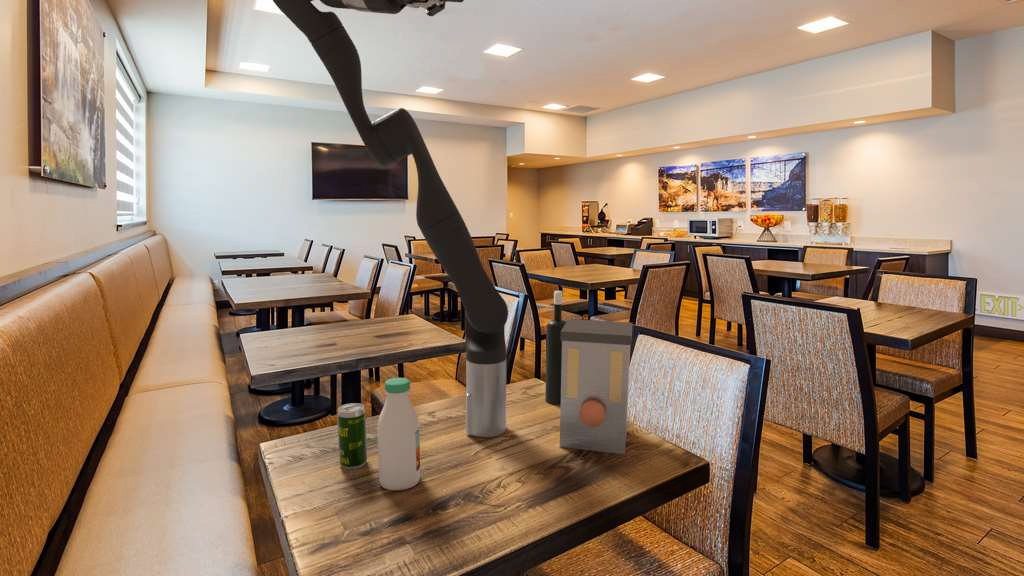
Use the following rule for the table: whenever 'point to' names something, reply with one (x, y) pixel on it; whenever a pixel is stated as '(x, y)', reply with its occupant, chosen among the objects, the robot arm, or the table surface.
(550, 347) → the wine bottle
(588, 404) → the plunger
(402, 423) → the milk bottle
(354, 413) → the beer can
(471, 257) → the robot arm
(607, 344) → the dispenser
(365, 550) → the table surface
